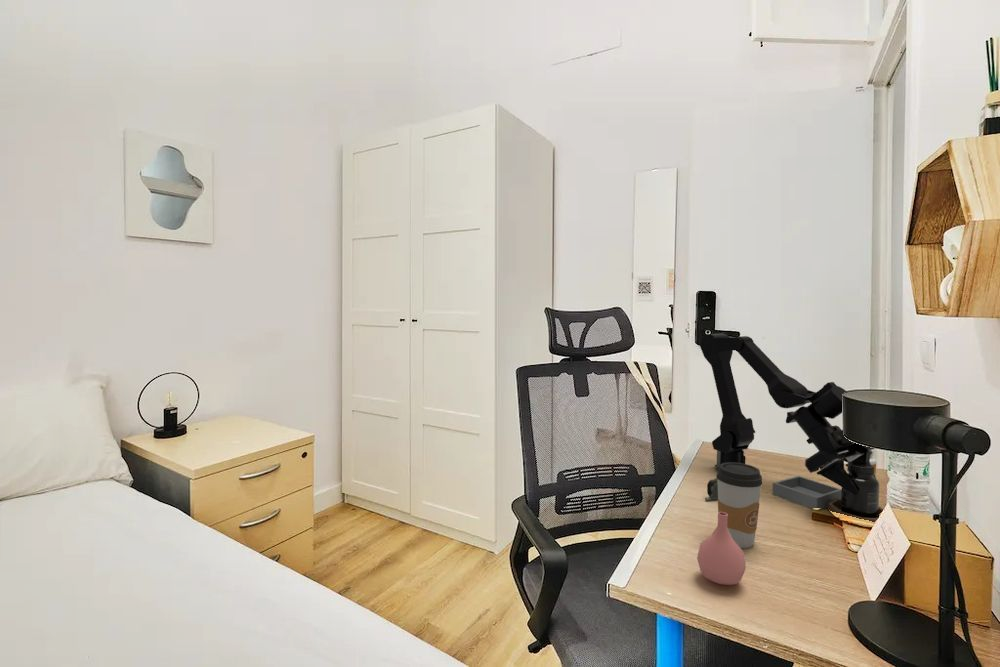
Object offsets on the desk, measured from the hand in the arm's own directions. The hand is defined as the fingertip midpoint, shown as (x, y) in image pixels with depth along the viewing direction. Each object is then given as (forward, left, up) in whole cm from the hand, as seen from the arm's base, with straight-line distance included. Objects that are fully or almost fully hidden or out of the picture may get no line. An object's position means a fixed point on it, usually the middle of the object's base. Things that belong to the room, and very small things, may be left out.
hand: (867, 490), depth 109 cm
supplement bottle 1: (-1, +1, -7) cm, 7 cm away
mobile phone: (-26, +9, -7) cm, 28 cm away
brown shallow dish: (-1, +1, -7) cm, 7 cm away
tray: (-7, +11, -7) cm, 15 cm away
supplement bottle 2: (+12, +21, -7) cm, 25 cm away
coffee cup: (-32, -14, -7) cm, 36 cm away
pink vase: (-40, -29, -7) cm, 50 cm away
